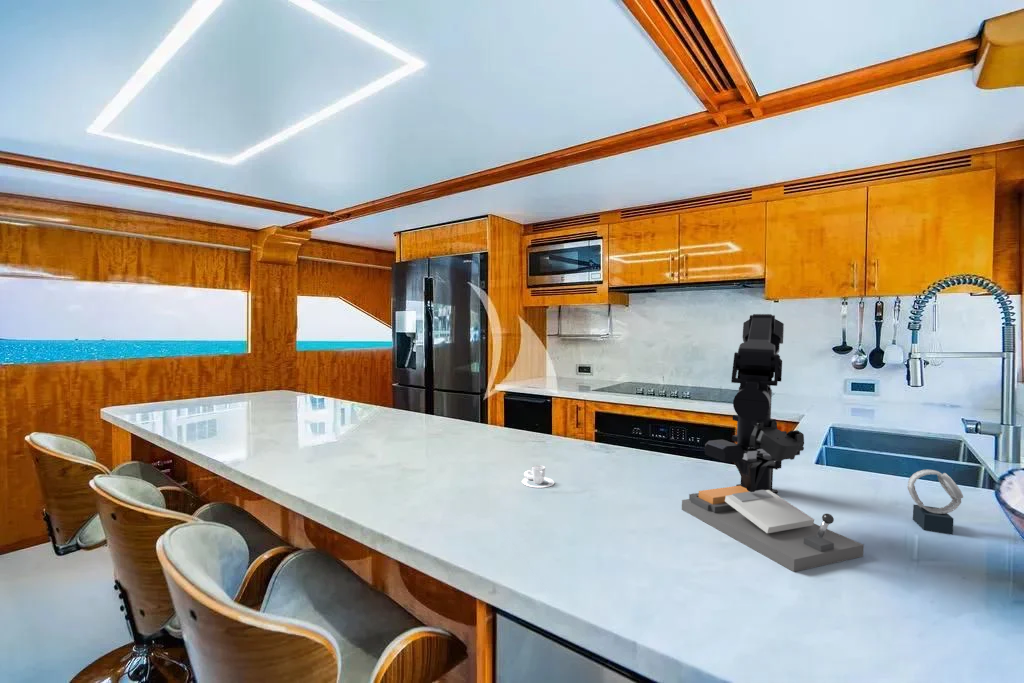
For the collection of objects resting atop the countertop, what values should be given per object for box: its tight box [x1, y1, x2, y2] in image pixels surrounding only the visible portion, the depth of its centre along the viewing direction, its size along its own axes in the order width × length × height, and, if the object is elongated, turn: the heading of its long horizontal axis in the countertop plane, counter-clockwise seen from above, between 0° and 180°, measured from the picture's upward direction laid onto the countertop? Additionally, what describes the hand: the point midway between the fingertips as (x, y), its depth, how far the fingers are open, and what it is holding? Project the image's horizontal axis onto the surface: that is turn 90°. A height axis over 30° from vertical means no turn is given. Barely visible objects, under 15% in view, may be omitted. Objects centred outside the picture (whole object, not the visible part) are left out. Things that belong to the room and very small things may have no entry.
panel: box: [681, 492, 865, 573], centre depth 89 cm, size 16×26×3 cm, turn 20°
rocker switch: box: [725, 490, 815, 533], centre depth 88 cm, size 11×10×1 cm
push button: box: [698, 485, 749, 504], centre depth 97 cm, size 11×4×2 cm, turn 110°
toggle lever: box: [817, 513, 835, 538], centre depth 78 cm, size 2×2×5 cm
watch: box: [907, 468, 964, 535], centre depth 92 cm, size 6×8×11 cm
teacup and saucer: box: [521, 464, 555, 489], centre depth 114 cm, size 9×8×4 cm
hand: (751, 491), depth 92 cm, fingers closed
